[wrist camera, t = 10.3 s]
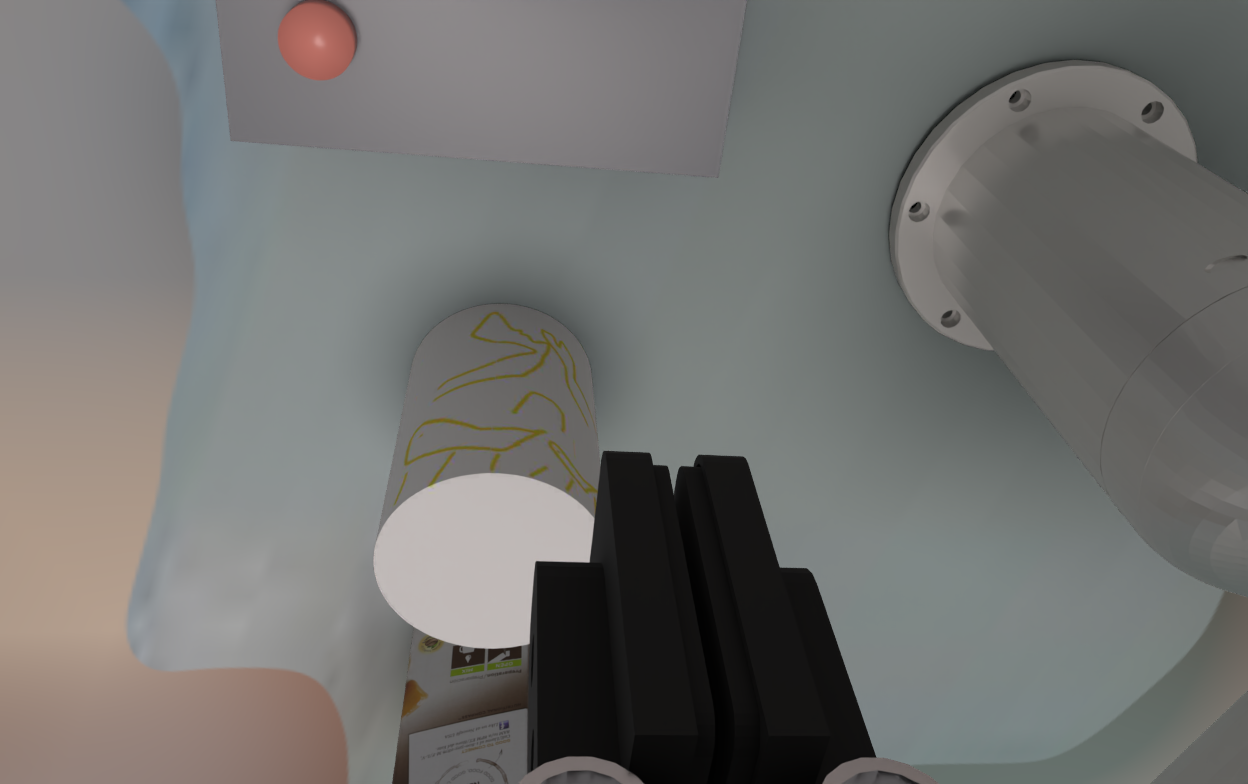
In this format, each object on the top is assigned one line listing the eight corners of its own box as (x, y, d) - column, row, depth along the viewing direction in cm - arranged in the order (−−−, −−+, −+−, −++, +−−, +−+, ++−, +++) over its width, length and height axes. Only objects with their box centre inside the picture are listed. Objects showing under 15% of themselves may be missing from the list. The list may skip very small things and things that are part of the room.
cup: (613, 325, 43) (637, 496, 33) (567, 470, 47) (576, 662, 37) (427, 285, 42) (394, 453, 32) (396, 439, 46) (358, 631, 36)
